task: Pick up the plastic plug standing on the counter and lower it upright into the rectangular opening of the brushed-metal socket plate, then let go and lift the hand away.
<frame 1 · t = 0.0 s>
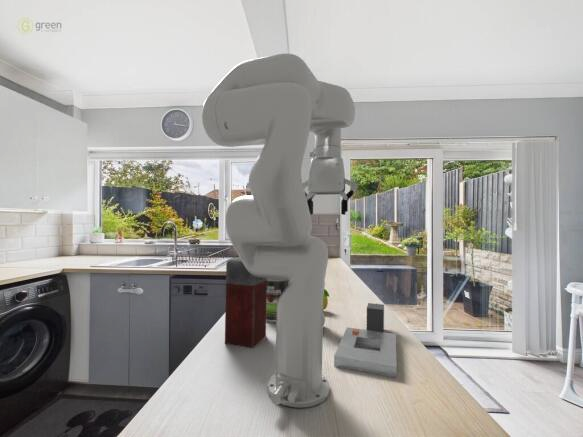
hand: (326, 214, 81), 37 cm above the table, tool pointing down, fingers open, 9 cm apart
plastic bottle: (314, 327, 93), on the table
coffee can: (274, 318, 102), on the table
plug: (375, 331, 91), on the table
socket plate: (367, 353, 75), on the table
lemon: (320, 312, 110), on the table
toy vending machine: (247, 338, 84), on the table
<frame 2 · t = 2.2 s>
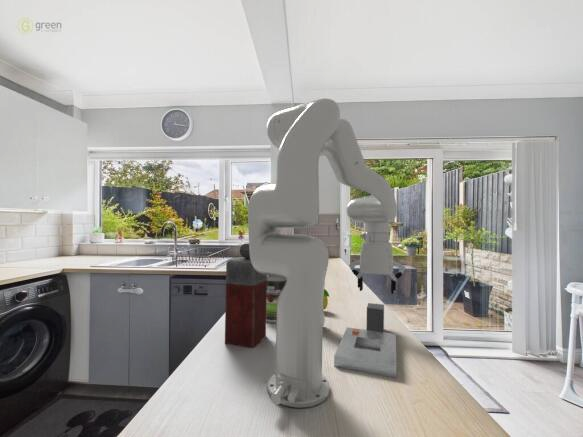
hand: (376, 291, 91), 13 cm above the table, tool pointing down, fingers open, 9 cm apart
nothing on the table moved.
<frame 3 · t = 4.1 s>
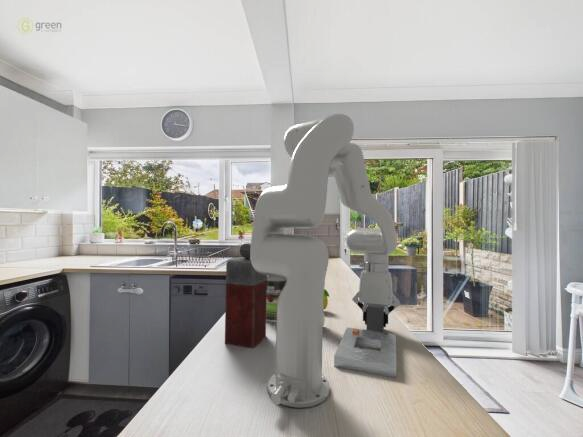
hand: (375, 324, 91), 2 cm above the table, tool pointing down, fingers closed on plug, 5 cm apart
plug: (375, 331, 91), on the table, touching gripper
everything else where it was.
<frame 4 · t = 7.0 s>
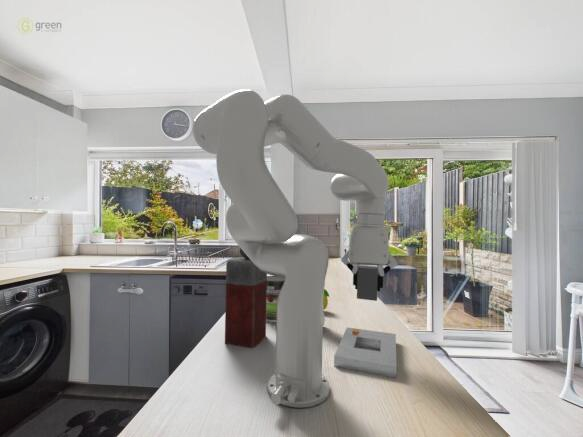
hand: (367, 288, 76), 17 cm above the table, tool pointing down, fingers closed on plug, 5 cm apart
plug: (367, 297, 76), point 15 cm above the table, touching gripper
everything else where it was.
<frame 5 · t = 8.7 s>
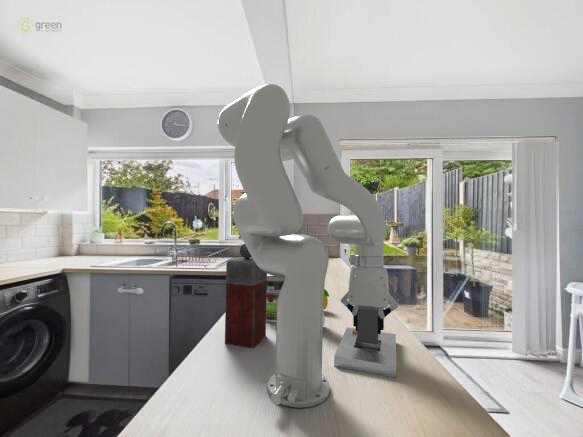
hand: (368, 330, 75), 6 cm above the table, tool pointing down, fingers closed on plug, 5 cm apart
plug: (368, 338, 75), point 4 cm above the table, touching gripper
everything else where it was.
when the fingers open (4 cm above the table, at t = 9.9 s): plug drops 1 cm, resting in socket plate.
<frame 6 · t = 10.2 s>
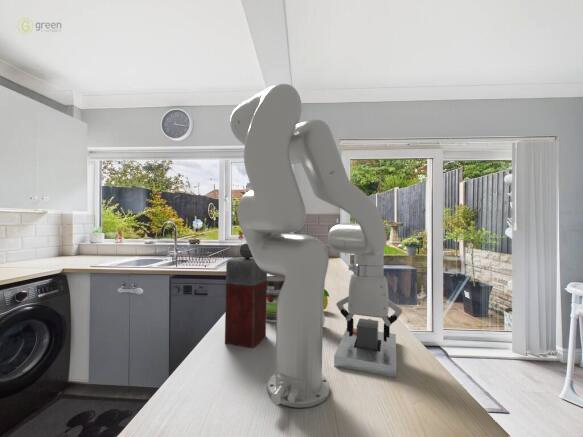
hand: (367, 336, 75), 4 cm above the table, tool pointing down, fingers open, 8 cm apart
plug: (367, 353, 75), resting in socket plate
everything else where it was.
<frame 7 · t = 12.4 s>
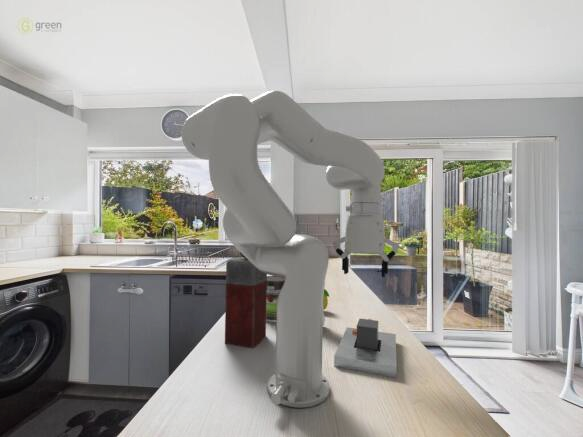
hand: (364, 274, 76), 21 cm above the table, tool pointing down, fingers open, 9 cm apart
nothing on the table moved.
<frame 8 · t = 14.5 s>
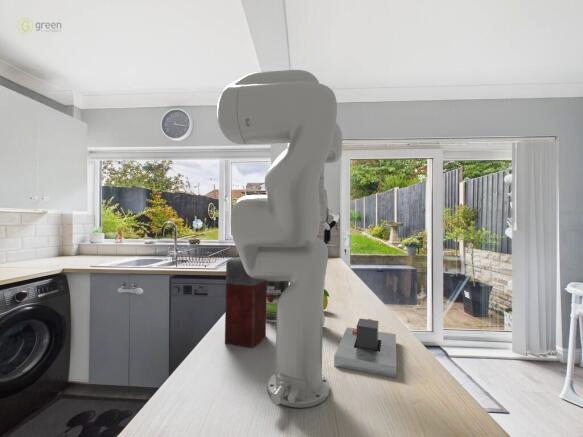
hand: (310, 242, 84), 28 cm above the table, tool pointing down, fingers open, 9 cm apart
nothing on the table moved.
at the end: plug 0.1 cm off-centre on the socket plate, point 0.0 cm above the socket plate's base; plug tilted 0°; the gripper is holding nothing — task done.
